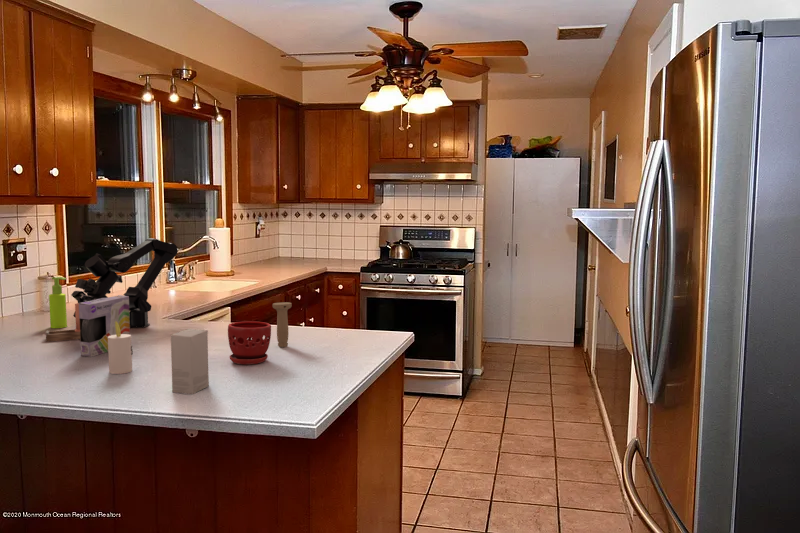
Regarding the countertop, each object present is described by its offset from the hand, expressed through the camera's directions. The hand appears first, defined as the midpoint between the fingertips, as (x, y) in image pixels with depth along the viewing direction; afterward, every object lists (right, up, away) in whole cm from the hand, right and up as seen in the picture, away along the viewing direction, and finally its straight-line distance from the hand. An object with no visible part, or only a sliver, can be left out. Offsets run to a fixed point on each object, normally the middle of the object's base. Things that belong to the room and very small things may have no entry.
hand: (77, 317), depth 247 cm
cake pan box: (+20, -10, -21) cm, 31 cm away
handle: (+78, -9, -15) cm, 80 cm away
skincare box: (+63, -14, -68) cm, 94 cm away
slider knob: (+1, -6, +2) cm, 7 cm away
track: (-2, -8, 0) cm, 8 cm away
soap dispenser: (-18, -6, +22) cm, 29 cm away
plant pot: (+71, -11, -36) cm, 81 cm away
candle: (+36, -12, -49) cm, 62 cm away
